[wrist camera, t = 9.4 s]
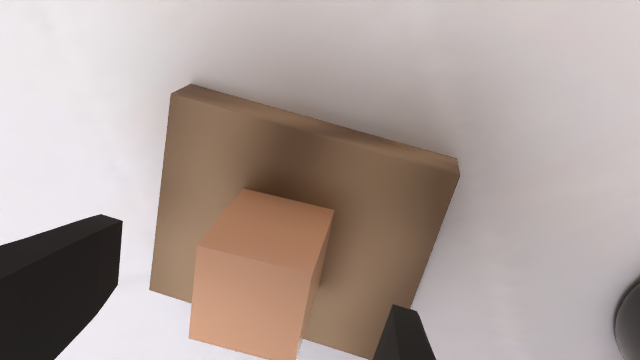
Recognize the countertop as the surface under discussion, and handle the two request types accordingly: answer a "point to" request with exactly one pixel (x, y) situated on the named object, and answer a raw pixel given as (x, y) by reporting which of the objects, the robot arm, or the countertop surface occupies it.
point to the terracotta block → (259, 275)
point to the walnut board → (308, 187)
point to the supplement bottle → (629, 325)
